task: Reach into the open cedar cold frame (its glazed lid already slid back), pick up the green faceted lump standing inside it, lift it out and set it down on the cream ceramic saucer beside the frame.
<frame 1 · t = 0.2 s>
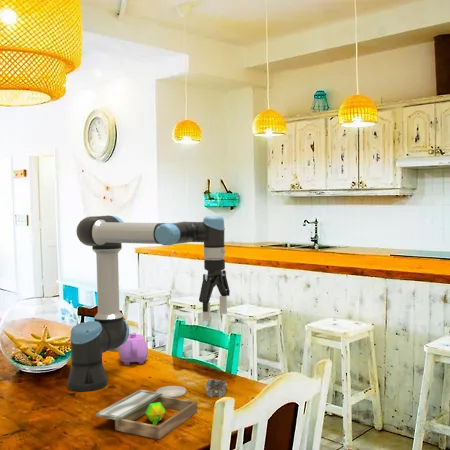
hand: (215, 317, 199), 28 cm above the table, fingers open, 13 cm apart
cold frame: (157, 420, 175), on the table
figurine crate: (123, 348, 264), on the table
saucer: (171, 392, 201), on the table
green faceted lump: (156, 422, 174), on the table
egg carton: (216, 393, 201), on the table
piggy bank: (133, 362, 241), on the table
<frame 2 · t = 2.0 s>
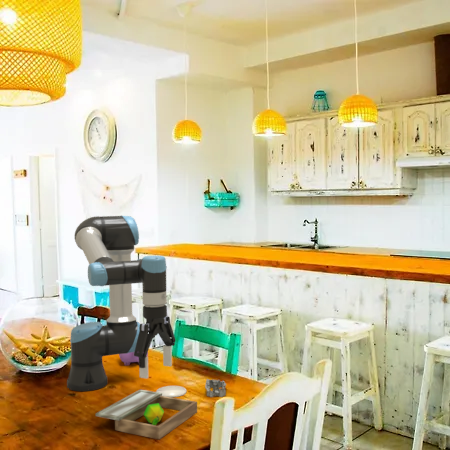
hand: (156, 371, 173), 16 cm above the table, fingers open, 13 cm apart
green faceted lump: (155, 424, 173), on the table
everything else where it was.
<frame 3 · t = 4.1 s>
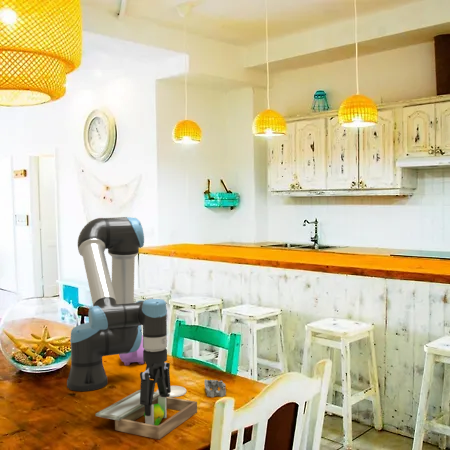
hand: (156, 421, 173), 0 cm above the table, fingers open, 7 cm apart
green faceted lump: (155, 424, 173), on the table, touching gripper
everything else where it was.
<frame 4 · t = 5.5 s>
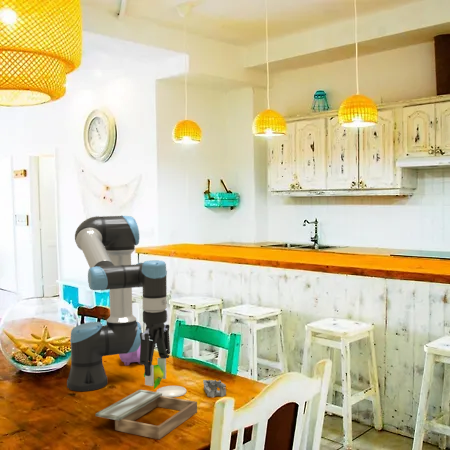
hand: (155, 381, 174), 13 cm above the table, fingers closed on green faceted lump, 6 cm apart
green faceted lump: (155, 385, 174), point 12 cm above the table, touching gripper
everything else where it was.
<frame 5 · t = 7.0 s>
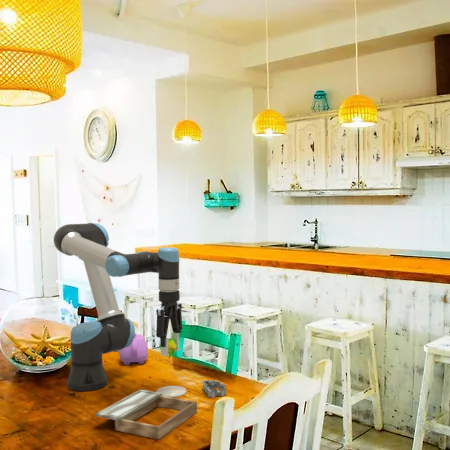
hand: (169, 352, 200), 15 cm above the table, fingers closed on green faceted lump, 6 cm apart
green faceted lump: (169, 355, 199), point 14 cm above the table, touching gripper
when the fingers open (2 cm above the table, at t = 9.3 s): green faceted lump stays where it is, resting on saucer.
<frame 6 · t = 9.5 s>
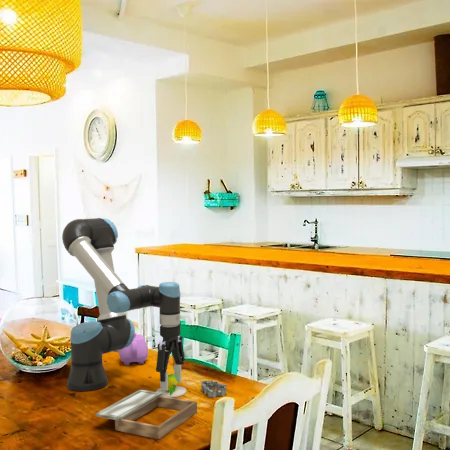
hand: (171, 385, 201), 2 cm above the table, fingers open, 9 cm apart
green faceted lump: (170, 391, 200), resting on saucer
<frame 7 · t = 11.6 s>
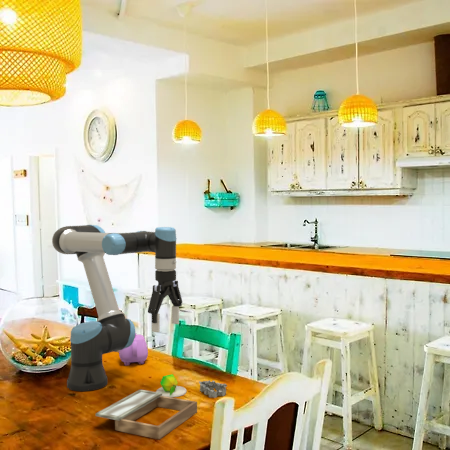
hand: (165, 327, 200), 24 cm above the table, fingers open, 13 cm apart
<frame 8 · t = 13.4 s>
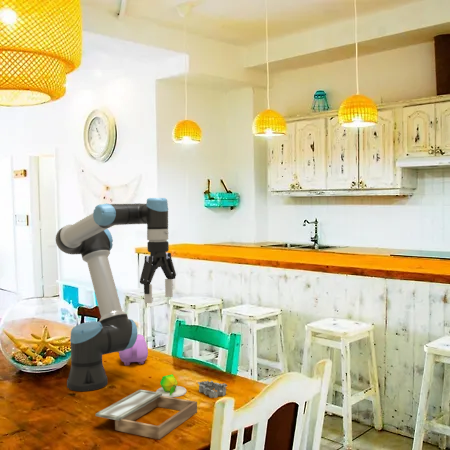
hand: (159, 299, 197), 35 cm above the table, fingers open, 13 cm apart
at the end: green faceted lump 1.1 cm from the saucer (horizontally); green faceted lump inside the target area on the saucer (1.1 cm from its centre), point 0.4 cm above the saucer's base; the gripper is holding nothing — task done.
